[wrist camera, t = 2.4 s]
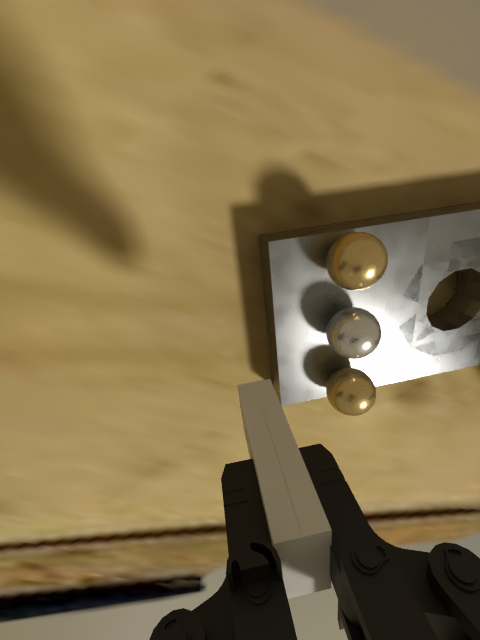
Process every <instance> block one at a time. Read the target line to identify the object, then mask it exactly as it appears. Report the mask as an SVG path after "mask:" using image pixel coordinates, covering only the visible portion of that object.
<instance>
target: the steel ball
mask: <svg viewBox="0 0 480 640" xmlns="http://www.w3.org/2000/svg"><path fill="white" fill-rule="evenodd" d="M326 337H327V341H328V343H329V345H330V347H331V348H332V349H333V350H334V351H335V352H336V353H337V354H339V355H340V356H342V357H345V358H349V359H360V358H363V357H366V356H368V355H370V354H371V353H373V352H374V351H375V350H376V348H377V347H378V345H379V343H380V340H381V327H380V324H379V322H378V320H377V319H376V317H375V316H374V315H373V314H372V313H370V312H369V311H367V310H365V309H362V308H358V307H349V308H345V309H342V310H340V311H338V312H337V313H335V314H334V315H333V316H332V317H331V319H330V320H329V322H328V325H327V329H326Z"/></svg>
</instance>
